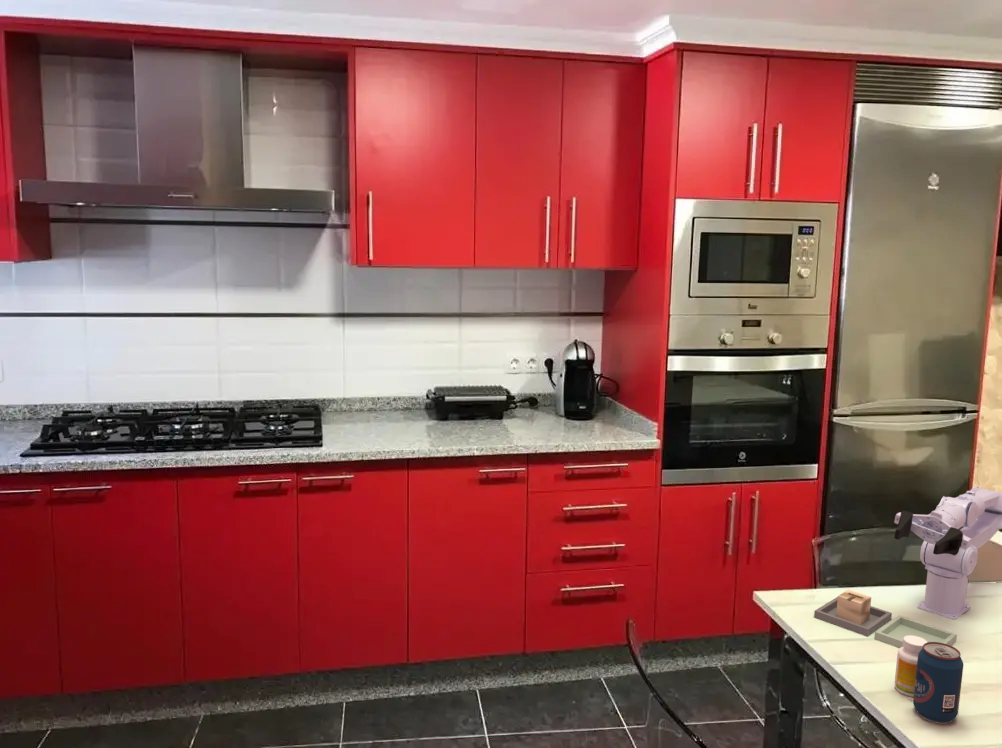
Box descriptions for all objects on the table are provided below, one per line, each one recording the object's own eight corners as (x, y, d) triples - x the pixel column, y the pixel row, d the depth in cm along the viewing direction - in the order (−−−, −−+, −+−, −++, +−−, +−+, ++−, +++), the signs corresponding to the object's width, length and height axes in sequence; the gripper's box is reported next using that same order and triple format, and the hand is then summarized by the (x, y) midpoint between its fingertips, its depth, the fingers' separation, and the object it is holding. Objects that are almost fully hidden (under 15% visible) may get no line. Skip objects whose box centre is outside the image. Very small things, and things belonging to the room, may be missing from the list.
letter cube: (846, 611, 184) (848, 589, 184) (869, 618, 181) (871, 596, 180) (835, 618, 181) (837, 595, 180) (858, 626, 177) (860, 603, 176)
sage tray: (897, 623, 180) (898, 615, 179) (956, 642, 171) (956, 634, 171) (874, 640, 172) (875, 631, 172) (933, 661, 164) (934, 652, 163)
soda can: (904, 703, 149) (910, 640, 147) (942, 702, 149) (949, 639, 147) (926, 726, 142) (933, 660, 140) (966, 725, 142) (973, 659, 140)
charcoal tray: (838, 603, 189) (839, 595, 189) (891, 620, 181) (892, 612, 180) (813, 618, 181) (814, 610, 181) (867, 637, 173) (868, 629, 173)
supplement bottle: (930, 699, 150) (936, 649, 148) (898, 696, 151) (903, 645, 150) (922, 684, 155) (927, 635, 154) (891, 680, 156) (895, 631, 155)
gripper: (910, 494, 183) (884, 510, 174) (982, 519, 173) (958, 538, 164) (904, 523, 185) (877, 541, 176) (974, 549, 175) (950, 570, 166)
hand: (915, 541), depth 170 cm, fingers open, 7 cm apart
